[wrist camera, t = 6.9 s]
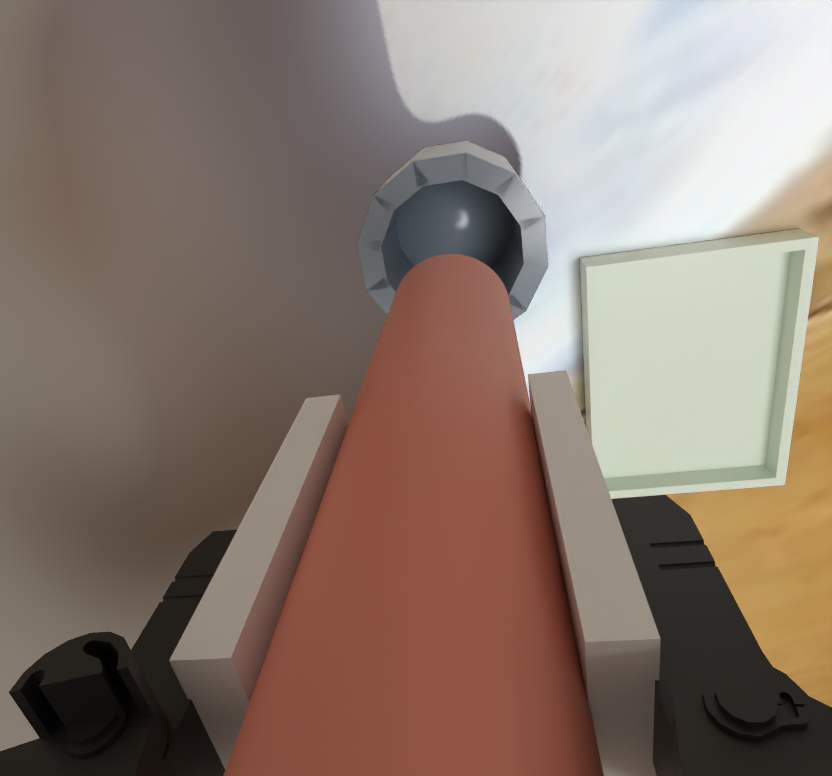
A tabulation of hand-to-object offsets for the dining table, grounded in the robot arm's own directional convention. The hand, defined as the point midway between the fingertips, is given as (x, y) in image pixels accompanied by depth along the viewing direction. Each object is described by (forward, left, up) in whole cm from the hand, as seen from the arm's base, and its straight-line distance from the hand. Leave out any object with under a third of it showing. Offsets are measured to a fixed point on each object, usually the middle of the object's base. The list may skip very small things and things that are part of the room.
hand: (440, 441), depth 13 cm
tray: (+11, +13, -24) cm, 30 cm away
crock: (0, 0, -24) cm, 24 cm away
